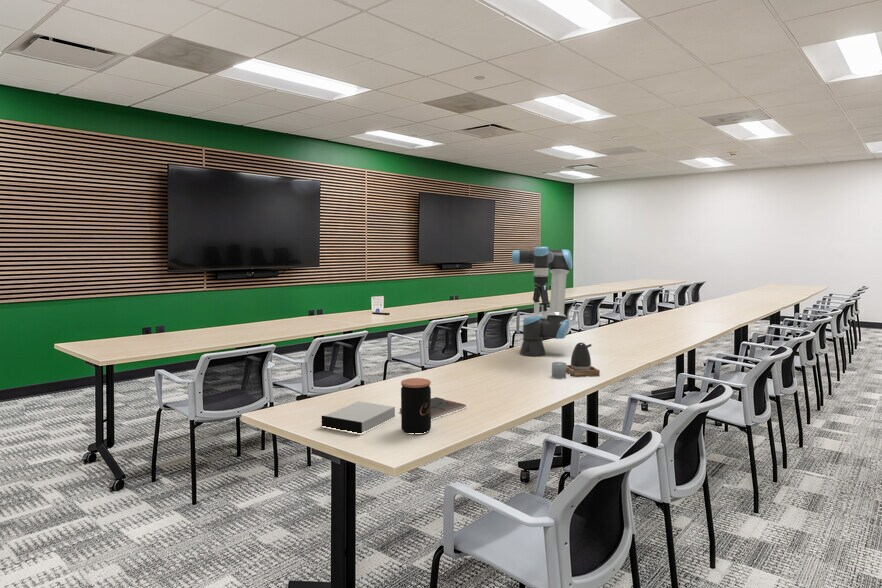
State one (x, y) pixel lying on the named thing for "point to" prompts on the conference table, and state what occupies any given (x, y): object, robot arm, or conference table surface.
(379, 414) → the disc drive
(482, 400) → the conference table surface
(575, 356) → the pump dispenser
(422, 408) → the coffee jar
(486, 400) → the conference table surface
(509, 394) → the conference table surface
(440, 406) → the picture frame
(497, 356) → the conference table surface
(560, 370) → the grey round-ended cylinder
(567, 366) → the tray
